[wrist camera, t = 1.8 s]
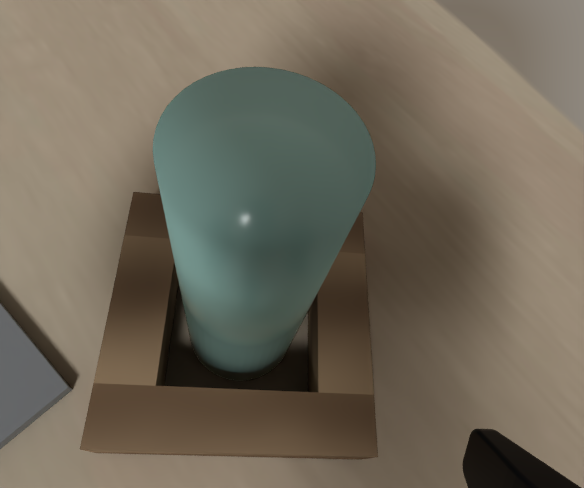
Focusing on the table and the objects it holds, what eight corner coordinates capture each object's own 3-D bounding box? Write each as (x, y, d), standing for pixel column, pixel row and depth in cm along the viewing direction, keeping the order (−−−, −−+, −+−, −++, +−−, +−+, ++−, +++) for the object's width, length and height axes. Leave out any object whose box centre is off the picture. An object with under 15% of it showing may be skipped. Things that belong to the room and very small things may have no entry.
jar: (311, 330, 22) (417, 158, 10) (238, 403, 20) (266, 294, 8) (243, 263, 23) (268, 38, 11) (168, 327, 21) (103, 134, 9)
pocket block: (360, 459, 20) (377, 456, 18) (96, 452, 19) (79, 449, 16) (349, 235, 25) (362, 212, 23) (141, 218, 24) (133, 191, 22)
